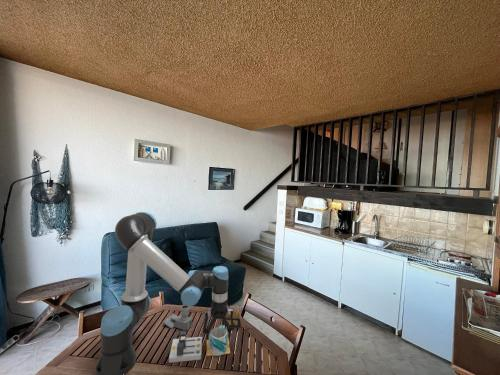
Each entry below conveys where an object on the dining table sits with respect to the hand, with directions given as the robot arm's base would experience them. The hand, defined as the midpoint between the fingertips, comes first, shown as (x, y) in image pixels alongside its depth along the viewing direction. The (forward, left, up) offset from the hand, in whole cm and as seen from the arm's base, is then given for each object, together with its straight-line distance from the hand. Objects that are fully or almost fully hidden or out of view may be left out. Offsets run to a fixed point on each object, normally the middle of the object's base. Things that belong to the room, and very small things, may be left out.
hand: (218, 344), depth 110 cm
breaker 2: (-17, 0, +1) cm, 17 cm away
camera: (-21, +19, -2) cm, 29 cm away
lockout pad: (0, 0, -1) cm, 1 cm away
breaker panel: (-15, 0, -1) cm, 15 cm away
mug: (+1, 0, -1) cm, 1 cm away
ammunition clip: (+8, +15, -2) cm, 17 cm away
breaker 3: (-17, -4, +1) cm, 18 cm away
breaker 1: (-17, +4, +1) cm, 18 cm away
